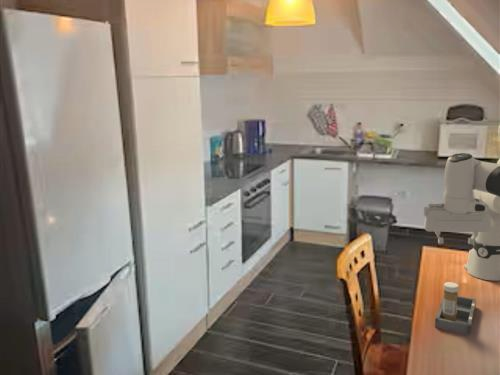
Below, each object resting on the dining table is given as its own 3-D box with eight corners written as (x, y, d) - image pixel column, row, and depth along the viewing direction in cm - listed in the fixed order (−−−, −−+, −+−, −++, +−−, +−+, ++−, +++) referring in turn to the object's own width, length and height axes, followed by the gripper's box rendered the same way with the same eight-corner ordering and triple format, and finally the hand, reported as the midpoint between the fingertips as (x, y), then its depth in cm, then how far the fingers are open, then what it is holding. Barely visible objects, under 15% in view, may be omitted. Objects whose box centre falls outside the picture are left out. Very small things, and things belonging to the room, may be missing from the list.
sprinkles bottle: (458, 321, 159) (461, 284, 156) (451, 326, 156) (454, 288, 153) (445, 316, 163) (448, 280, 159) (438, 320, 160) (441, 284, 156)
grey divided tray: (443, 301, 174) (444, 292, 173) (475, 308, 169) (476, 298, 168) (434, 328, 156) (435, 318, 155) (469, 336, 151) (470, 325, 150)
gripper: (425, 206, 152) (424, 246, 156) (494, 206, 148) (491, 247, 152) (422, 201, 158) (421, 239, 162) (488, 200, 154) (485, 240, 158)
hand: (455, 243), depth 157 cm, fingers open, 8 cm apart
